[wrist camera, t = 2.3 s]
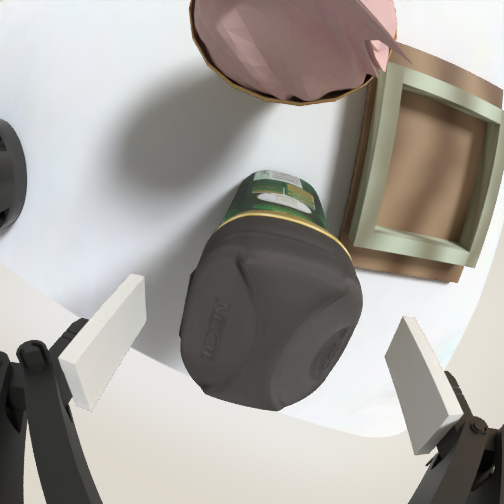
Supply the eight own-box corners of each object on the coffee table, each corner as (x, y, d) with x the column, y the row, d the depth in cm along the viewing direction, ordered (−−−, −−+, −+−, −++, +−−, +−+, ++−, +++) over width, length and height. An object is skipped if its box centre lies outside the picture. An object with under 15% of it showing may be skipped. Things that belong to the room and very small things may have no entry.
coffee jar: (297, 275, 31) (308, 435, 14) (220, 253, 31) (160, 400, 14) (330, 184, 27) (404, 285, 10) (246, 158, 27) (188, 221, 10)
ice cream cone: (290, 138, 26) (317, 171, 8) (201, 59, 24) (64, -27, 5) (373, 61, 22) (517, -11, 4) (284, -16, 20) (285, -169, 2)
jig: (333, 259, 30) (339, 276, 27) (373, 38, 21) (385, 28, 18) (453, 278, 30) (467, 294, 27) (497, 90, 21) (517, 89, 18)
